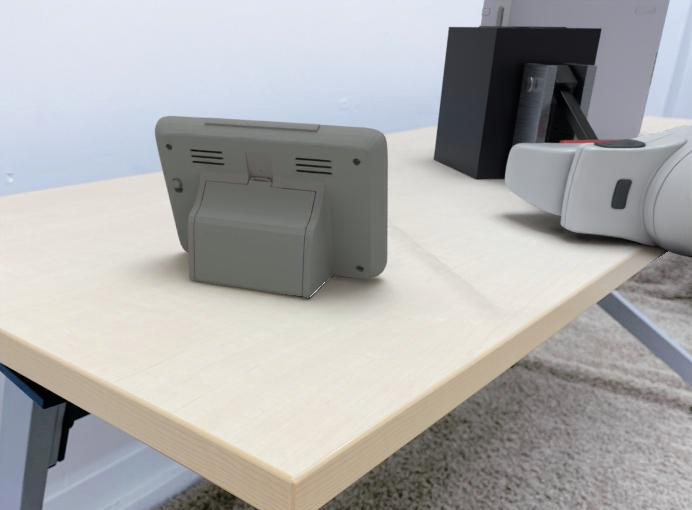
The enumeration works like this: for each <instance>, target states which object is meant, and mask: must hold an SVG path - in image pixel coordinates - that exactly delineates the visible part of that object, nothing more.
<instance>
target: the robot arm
mask: <svg viewBox="0 0 692 510" xmlns="http://www.w3.org/2000/svg"><path fill="white" fill-rule="evenodd" d="M504 184H505V186H506V189H507V190H508V191H509V192H511V193H512V194H514V195H515V196H516V197H518V198H520V199H521V200H523V201H524V202H525V203H528V204H529V205H531V206H533V207H535V208H537V209H538V210H541V211H543V212H545V213H548V214H551V215H555V216H558V217H560V226H561V227H562V228H564V229H565V230H568V231H570V232H573V233H576V234H585V235H592V236H599V237H600V236H601V237H608V238H616V239H623V240H629V241H632V242H635V243H639V244H641V245H644V246H648V247H659V248H661V249H663V250H665V251H667V252H669V253H672V254H675V255H678V256H681V257H686V258H690V259H692V125H690V124H689V125H678V126H674V127H670V128H668V129H666V130H663V131H661V132H654V133H649V134H645V135H641V136H637V137H636V138H632V139H623V140H615V141H600V142H595V143H519V144H516V145H514V146H513V147H512V149H511V150H510V153H509V157H508V161H507V166H506V173H505V179H504Z"/></svg>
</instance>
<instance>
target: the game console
mask: <svg viewBox="0 0 692 510" xmlns="http://www.w3.org/2000/svg"><path fill="white" fill-rule="evenodd" d="M670 1H671V0H483V4H482V5H483V6H482V9H481V22H480V25H479V26H511V27H513V26H531V27H567V28H602V30H601V35H600V40H599V46H598V51H597V56H596V61H595V66H597V71H596V76H595V81H594V86H593V92H592V97H591V102H590V107H589V112H588V117H587V120H588V122H589V124H590V126H591V127H592V129H593V131H594V132H595V134H596V136H597V138H598V139H599V140H614V139H632V138H636V137H639V134H640V133H641V129H642V124H643V120H644V115H645V111H646V106H647V103H648V100H649V99H648V98H649V94H650V91H651V85H652V80H653V76H654V72H655V68H656V64H657V58H658V54H659V50H660V46H661V41H662V37H663V31H664V28H665V23H666V19H667V15H668V10H669V6H670Z"/></svg>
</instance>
